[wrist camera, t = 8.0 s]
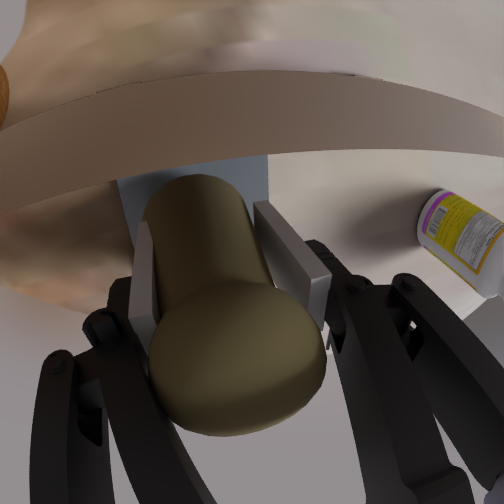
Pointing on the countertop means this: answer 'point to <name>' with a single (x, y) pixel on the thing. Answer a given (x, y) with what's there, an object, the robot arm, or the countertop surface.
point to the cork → (223, 317)
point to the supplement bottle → (464, 241)
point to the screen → (228, 127)
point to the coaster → (230, 170)
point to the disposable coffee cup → (3, 95)
